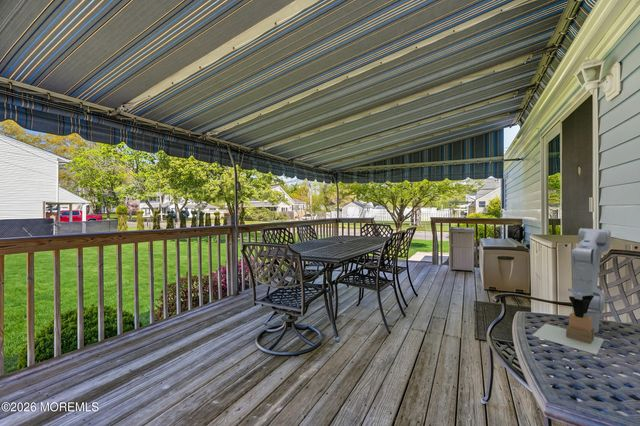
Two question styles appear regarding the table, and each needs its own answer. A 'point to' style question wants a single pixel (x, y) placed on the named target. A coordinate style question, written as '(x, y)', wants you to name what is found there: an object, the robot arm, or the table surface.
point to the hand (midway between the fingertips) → (580, 314)
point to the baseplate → (567, 339)
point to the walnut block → (580, 334)
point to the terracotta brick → (580, 322)
